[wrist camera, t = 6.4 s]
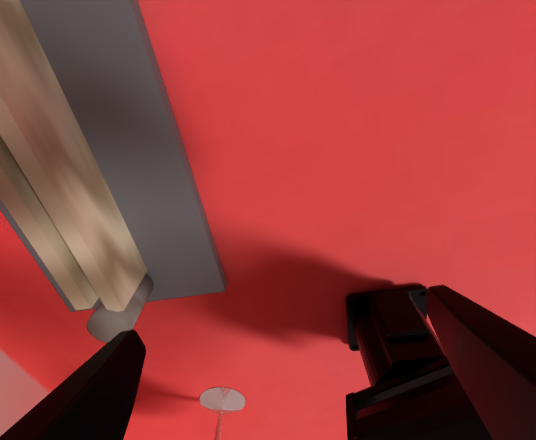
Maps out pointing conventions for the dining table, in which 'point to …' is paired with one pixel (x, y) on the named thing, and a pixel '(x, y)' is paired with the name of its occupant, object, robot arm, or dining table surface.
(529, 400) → the robot arm
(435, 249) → the dining table surface
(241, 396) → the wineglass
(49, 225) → the tongs arm
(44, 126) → the arm
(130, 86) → the serving board
